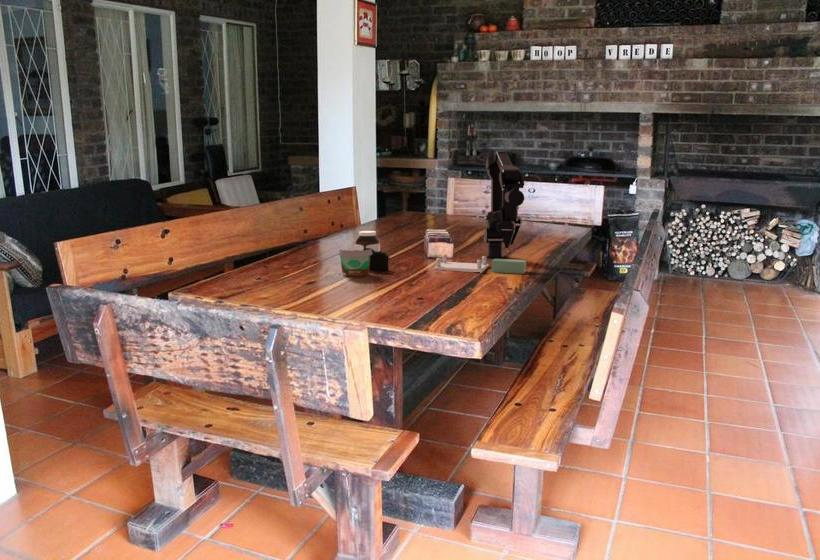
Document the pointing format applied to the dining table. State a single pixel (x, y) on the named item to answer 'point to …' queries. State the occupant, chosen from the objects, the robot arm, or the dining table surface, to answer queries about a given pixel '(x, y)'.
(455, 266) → the plate
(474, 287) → the dining table surface
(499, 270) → the green board
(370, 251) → the food container
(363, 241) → the spread jar
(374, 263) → the film camera
